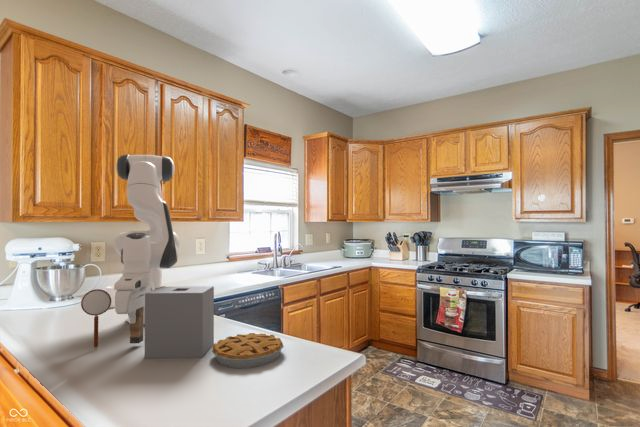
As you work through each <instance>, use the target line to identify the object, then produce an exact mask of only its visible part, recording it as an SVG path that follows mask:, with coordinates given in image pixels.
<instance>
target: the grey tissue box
mask: <svg viewBox="0 0 640 427" xmlns="http://www.w3.org/2000/svg"><path fill="white" fill-rule="evenodd" d="M214 296H215V286H214V285H206V286H205V285H203V286H201V285H198V286H196V285H195V286H193V285H192V286H190V285H189V286H188V285H187V286H179V285H178V286H165V287H160V288H157V289H155V290H152V291H150V292H147V293H145V324H144V359H166V358H167V359H170V358H171V359H173V358H174V359H178V358H179V359H181V358H182V359H183V358H184V359H186V358H189V359H190V358H193V359H194V358H198V359H199V358H203V357H205V355H206V354H207V353H208V352H209V351H210V350H211V348H213V345H214V344H215V340H214V338H215V329H214V328H215V327H214V326H215V321H214V320H215V319H214V318H215V316H214V314H215V309H214V308H215V307H214V306H215V297H214Z"/></svg>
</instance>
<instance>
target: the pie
mask: <svg viewBox="0 0 640 427" xmlns="http://www.w3.org/2000/svg"><path fill="white" fill-rule="evenodd" d="M284 347H285V346H284V343H283V340H282V339H281V338H280V337H275V335H274V334H270V335H269V334H268V335H267V334H266V333H254V332H251V333H248V334H247V333H246V334H237V335H236V336H232V335H229V336H226V338H224V339H220V340H218V341H217V343H216V342H214V345H213V346H212V347H211V348H212V349H211V353H212V354H213V355H214V357H215V358H216V360H217V361H218V362H219V364H221V365H223V366H226V367H228V366H229V367H230V368H234V367H235V368H236V369H245V368H246V369H247V367H249V368H255V367H258V366H259V367H260V366H263V365H266V364H269V363H271V362H273V361H275V360H276V359H278V357H279V356H280V354H281V351H282V349H283V348H284Z"/></svg>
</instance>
